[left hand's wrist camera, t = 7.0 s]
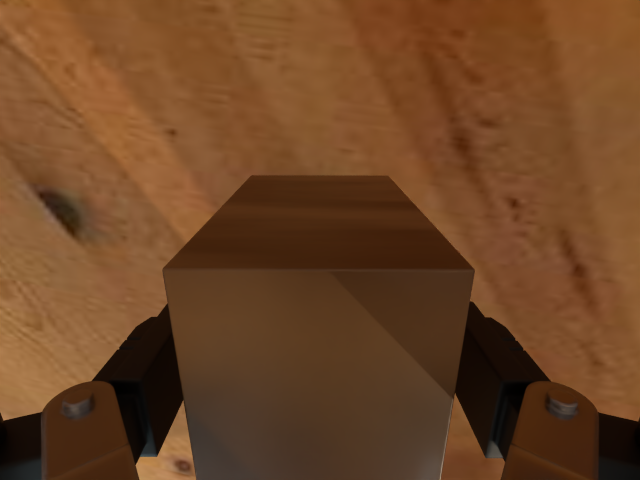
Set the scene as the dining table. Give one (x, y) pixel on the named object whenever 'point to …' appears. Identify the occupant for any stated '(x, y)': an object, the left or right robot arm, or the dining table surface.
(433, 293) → the box
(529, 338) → the dining table surface
